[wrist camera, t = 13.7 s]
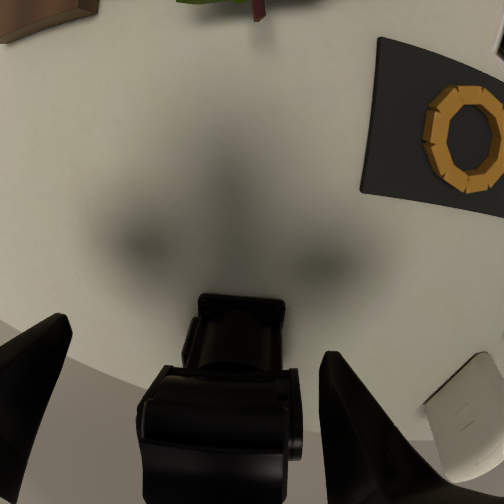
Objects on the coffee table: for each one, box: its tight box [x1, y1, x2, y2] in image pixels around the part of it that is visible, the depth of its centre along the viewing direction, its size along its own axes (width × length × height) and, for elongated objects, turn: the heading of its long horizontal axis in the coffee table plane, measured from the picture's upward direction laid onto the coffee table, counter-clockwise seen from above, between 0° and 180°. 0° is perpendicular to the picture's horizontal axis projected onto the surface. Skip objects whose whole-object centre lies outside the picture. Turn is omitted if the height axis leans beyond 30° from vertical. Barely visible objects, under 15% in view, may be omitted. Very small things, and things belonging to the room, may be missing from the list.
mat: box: [360, 37, 504, 218], centre depth 16 cm, size 14×10×1 cm
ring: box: [423, 85, 504, 194], centre depth 15 cm, size 7×7×1 cm
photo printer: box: [425, 353, 504, 483], centre depth 23 cm, size 10×4×12 cm, turn 156°
